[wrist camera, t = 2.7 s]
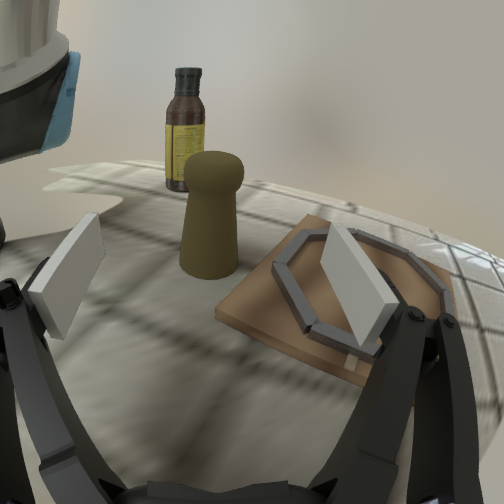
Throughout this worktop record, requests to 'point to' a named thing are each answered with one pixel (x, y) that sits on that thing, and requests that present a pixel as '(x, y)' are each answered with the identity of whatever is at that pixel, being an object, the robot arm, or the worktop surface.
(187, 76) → the sauce bottle
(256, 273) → the walnut board
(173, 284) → the worktop surface
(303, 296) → the steel ring
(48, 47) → the robot arm
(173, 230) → the worktop surface
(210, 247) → the cork
